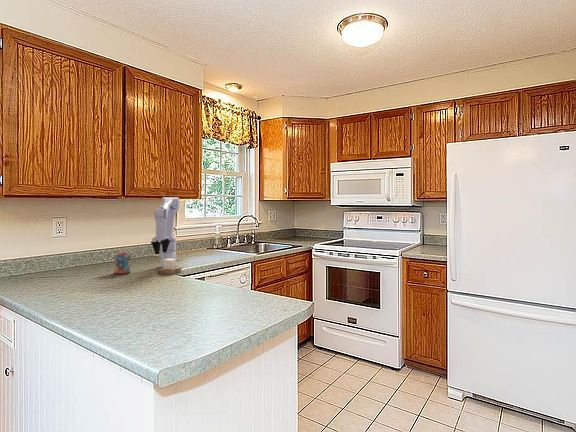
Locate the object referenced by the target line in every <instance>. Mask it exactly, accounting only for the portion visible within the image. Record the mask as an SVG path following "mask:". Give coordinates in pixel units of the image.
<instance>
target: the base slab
mask: <svg viewBox="0 0 576 432" xmlns="http://www.w3.org/2000/svg"><path fill="white" fill-rule="evenodd" d="M181 272H182V267H181V266H176V268H174V269H163V267H160V268H158V272H157V274H158V275H171V276H173V275H176V274H178V273H181Z"/></svg>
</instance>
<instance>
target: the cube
mask: <svg viewBox="0 0 576 432" xmlns="http://www.w3.org/2000/svg"><path fill="white" fill-rule="evenodd" d="M176 264H177V258H176V259H165V260H163V267H162V268H163V269H174V268H176V267H177V266H176Z"/></svg>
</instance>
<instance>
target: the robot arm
mask: <svg viewBox="0 0 576 432" xmlns="http://www.w3.org/2000/svg"><path fill="white" fill-rule="evenodd" d="M180 204H181V203H180V198H179V197H177V196H175V197H172V196H171V197H168V196H167V197H165V196H163V197H162V200H161V204H160V206H159V207H158V208H155V209H154V212H153V213H154V214H153V215H154V221H155V236H154V237H153V238H151V241H150V243H151V245H152V247H153V251H154V254H155V255H160V253H161V255H160V256H161V257H160V259H161V260H160V261H161V262H160V263H161V265H158V267H159V268H163V260H165V259H176V260H177V253H176V251H177V246H178V245H177V239H176V238H175V237H174V226H175V220H176V214H177V213H178V212H179V210H180ZM176 267H178V264H177V263H176Z"/></svg>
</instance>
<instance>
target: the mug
mask: <svg viewBox="0 0 576 432" xmlns="http://www.w3.org/2000/svg"><path fill="white" fill-rule="evenodd" d="M112 256H113V258H114V261H115V269H114V270H113V273H114V274H118V275H125V274H129V273H131V266H133V265H134V264H135V263H136V262H137V256H135V255H132V253H130V252H118V253H113V254H112ZM132 257H134V258H135V259H134V261H133V263H131V264H130V260H131V259H132Z"/></svg>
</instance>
